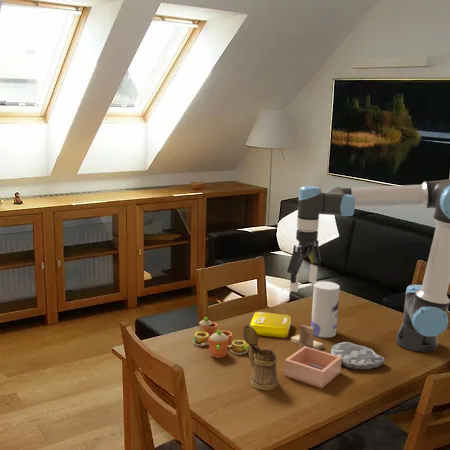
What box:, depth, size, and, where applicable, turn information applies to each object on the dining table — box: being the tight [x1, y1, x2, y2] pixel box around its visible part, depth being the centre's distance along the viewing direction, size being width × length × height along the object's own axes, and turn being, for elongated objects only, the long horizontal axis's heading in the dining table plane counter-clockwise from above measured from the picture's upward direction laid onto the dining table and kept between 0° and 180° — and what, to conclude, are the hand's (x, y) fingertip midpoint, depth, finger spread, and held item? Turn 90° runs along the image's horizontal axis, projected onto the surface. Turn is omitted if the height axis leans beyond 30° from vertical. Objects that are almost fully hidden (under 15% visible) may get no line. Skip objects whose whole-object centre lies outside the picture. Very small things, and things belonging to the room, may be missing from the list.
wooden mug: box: [242, 324, 279, 391], centre depth 187 cm, size 9×14×18 cm, turn 47°
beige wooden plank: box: [290, 333, 325, 351], centre depth 219 cm, size 12×4×2 cm, turn 45°
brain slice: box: [330, 341, 386, 370], centre depth 206 cm, size 20×17×3 cm
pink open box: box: [283, 346, 342, 389], centre depth 194 cm, size 14×14×6 cm
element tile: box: [249, 311, 292, 339], centre depth 233 cm, size 15×15×5 cm
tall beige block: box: [298, 324, 315, 350], centre depth 206 cm, size 4×2×12 cm, turn 55°
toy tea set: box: [192, 316, 250, 359], centre depth 215 cm, size 26×16×10 cm, turn 36°
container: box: [310, 281, 341, 339], centre depth 228 cm, size 10×10×20 cm
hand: (303, 286), depth 211 cm, fingers open, 13 cm apart
